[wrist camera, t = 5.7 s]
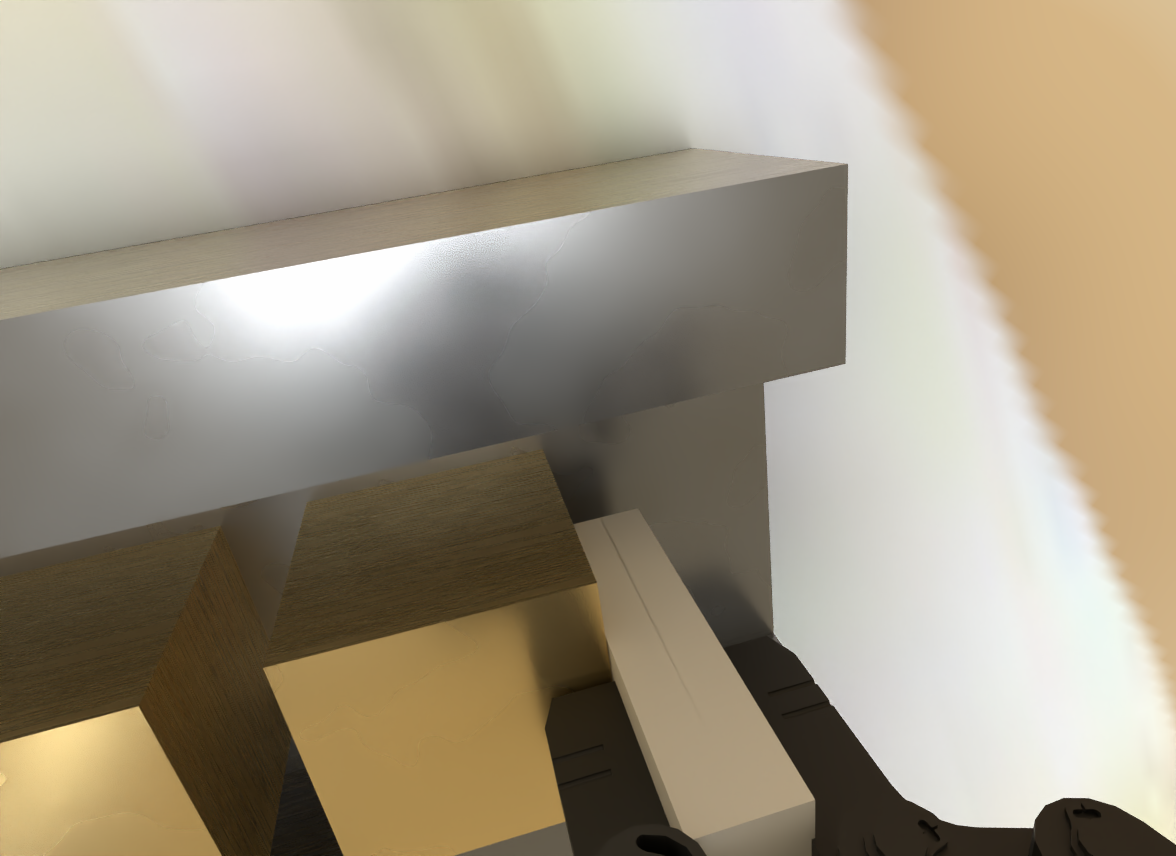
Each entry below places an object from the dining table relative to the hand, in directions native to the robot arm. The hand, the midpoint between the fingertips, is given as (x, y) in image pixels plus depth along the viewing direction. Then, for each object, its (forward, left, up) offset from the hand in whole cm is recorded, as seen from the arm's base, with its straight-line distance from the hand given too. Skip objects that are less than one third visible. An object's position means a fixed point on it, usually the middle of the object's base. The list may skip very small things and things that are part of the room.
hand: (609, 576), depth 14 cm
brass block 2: (-3, 0, -1) cm, 3 cm away
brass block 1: (-9, 0, -1) cm, 9 cm away
